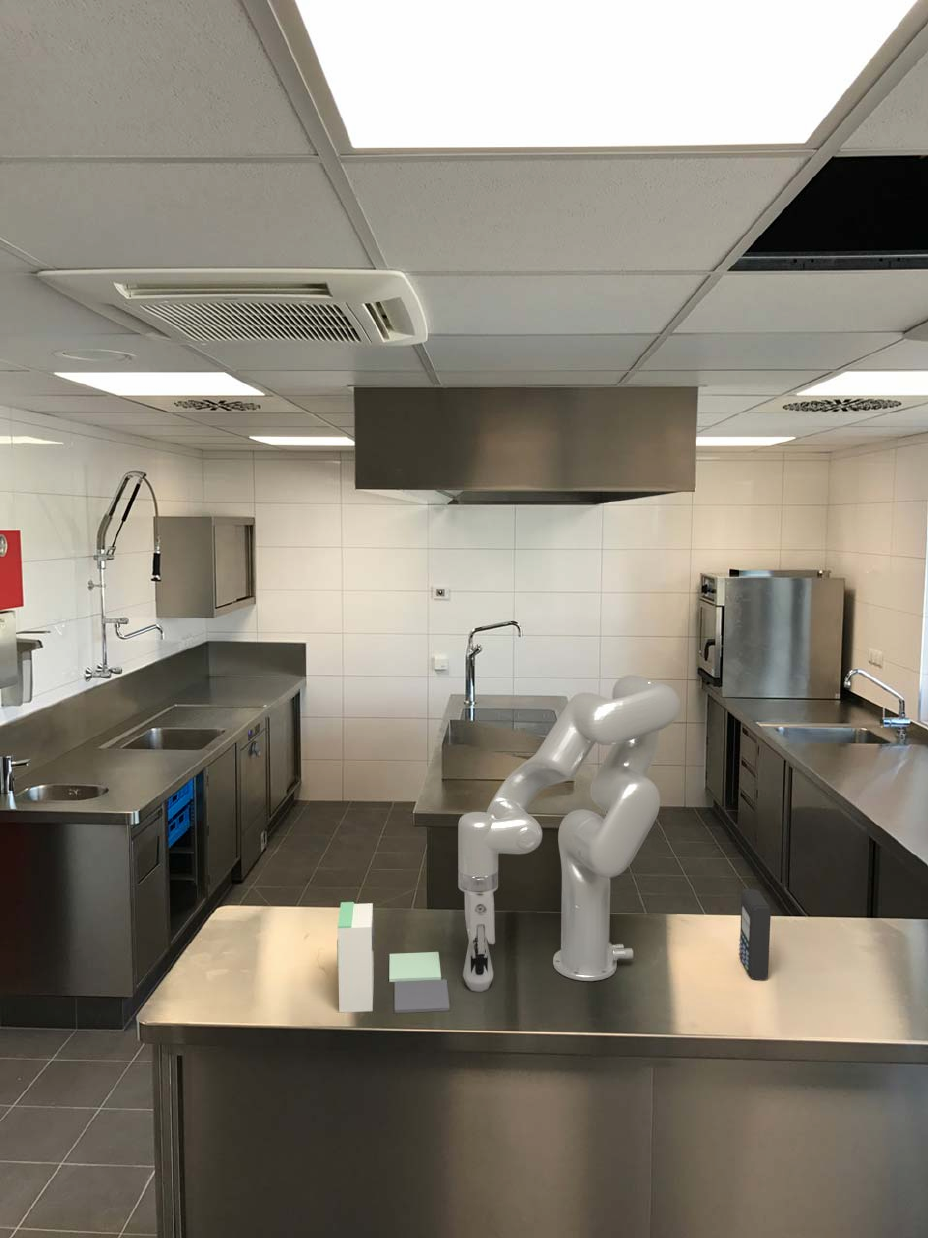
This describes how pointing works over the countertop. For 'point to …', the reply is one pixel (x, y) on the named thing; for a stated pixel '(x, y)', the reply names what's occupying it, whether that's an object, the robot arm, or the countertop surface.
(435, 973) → the green pad
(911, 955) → the countertop surface
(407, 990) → the grey pad
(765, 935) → the card reader
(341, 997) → the block
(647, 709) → the robot arm
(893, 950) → the countertop surface
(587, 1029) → the countertop surface
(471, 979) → the salt shaker
